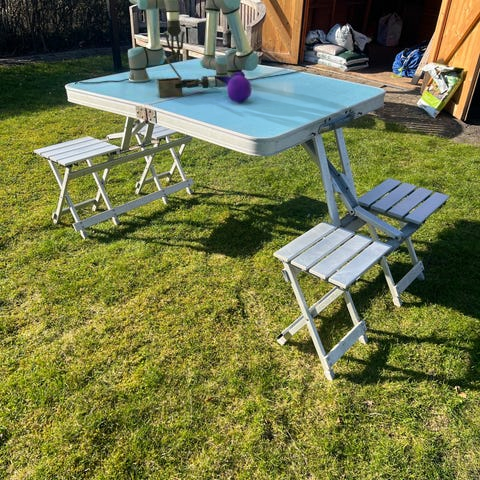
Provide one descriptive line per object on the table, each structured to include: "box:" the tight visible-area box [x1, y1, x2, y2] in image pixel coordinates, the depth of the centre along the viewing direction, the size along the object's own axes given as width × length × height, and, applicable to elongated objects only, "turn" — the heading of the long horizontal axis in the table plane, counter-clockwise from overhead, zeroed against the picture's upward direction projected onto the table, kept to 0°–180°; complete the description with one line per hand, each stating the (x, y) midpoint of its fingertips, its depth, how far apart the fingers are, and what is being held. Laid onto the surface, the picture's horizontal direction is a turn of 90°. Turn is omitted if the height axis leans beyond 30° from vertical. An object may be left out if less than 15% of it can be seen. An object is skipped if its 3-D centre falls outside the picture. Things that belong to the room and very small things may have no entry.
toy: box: [215, 71, 252, 103], centre depth 277 cm, size 16×18×27 cm
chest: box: [156, 77, 184, 99], centre depth 293 cm, size 15×9×10 cm, turn 105°
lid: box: [164, 50, 183, 80], centre depth 288 cm, size 16×9×8 cm
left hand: (176, 60), depth 286 cm, fingers closed on lid, 1 cm apart
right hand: (174, 84), depth 293 cm, fingers closed on chest, 9 cm apart
